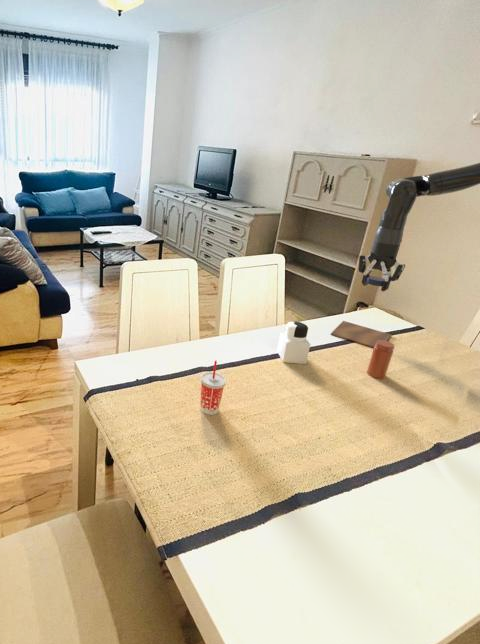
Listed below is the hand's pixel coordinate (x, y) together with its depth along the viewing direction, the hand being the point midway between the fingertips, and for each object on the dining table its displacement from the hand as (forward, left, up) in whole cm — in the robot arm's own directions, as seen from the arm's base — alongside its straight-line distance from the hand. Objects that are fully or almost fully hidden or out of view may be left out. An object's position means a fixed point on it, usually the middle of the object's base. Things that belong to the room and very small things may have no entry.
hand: (374, 287), depth 135 cm
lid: (0, 0, +3) cm, 3 cm away
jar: (-10, +27, -19) cm, 34 cm away
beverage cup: (+17, +78, -19) cm, 82 cm away
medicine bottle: (+12, +36, -19) cm, 42 cm away
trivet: (0, 0, -19) cm, 19 cm away
